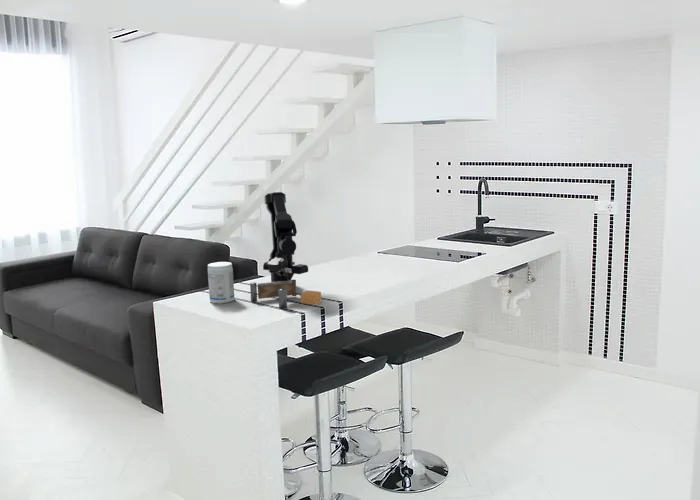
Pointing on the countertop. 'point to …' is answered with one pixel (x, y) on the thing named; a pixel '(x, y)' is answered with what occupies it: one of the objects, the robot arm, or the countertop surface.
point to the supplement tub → (221, 282)
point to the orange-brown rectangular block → (310, 297)
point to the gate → (276, 288)
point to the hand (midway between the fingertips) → (286, 288)
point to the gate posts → (281, 293)
